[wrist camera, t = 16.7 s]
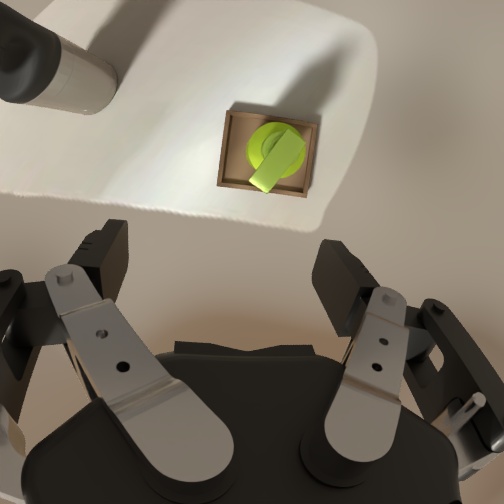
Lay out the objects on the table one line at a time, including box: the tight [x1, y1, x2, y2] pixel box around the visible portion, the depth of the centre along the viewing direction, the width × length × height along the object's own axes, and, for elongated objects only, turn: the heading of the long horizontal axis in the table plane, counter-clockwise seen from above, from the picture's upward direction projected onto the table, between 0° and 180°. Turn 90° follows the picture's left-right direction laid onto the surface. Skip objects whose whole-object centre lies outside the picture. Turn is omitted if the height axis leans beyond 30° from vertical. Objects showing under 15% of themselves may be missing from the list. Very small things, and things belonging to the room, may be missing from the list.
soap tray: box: [217, 110, 318, 198], centre depth 42 cm, size 13×11×2 cm
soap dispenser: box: [246, 122, 306, 194], centre depth 33 cm, size 6×7×20 cm
